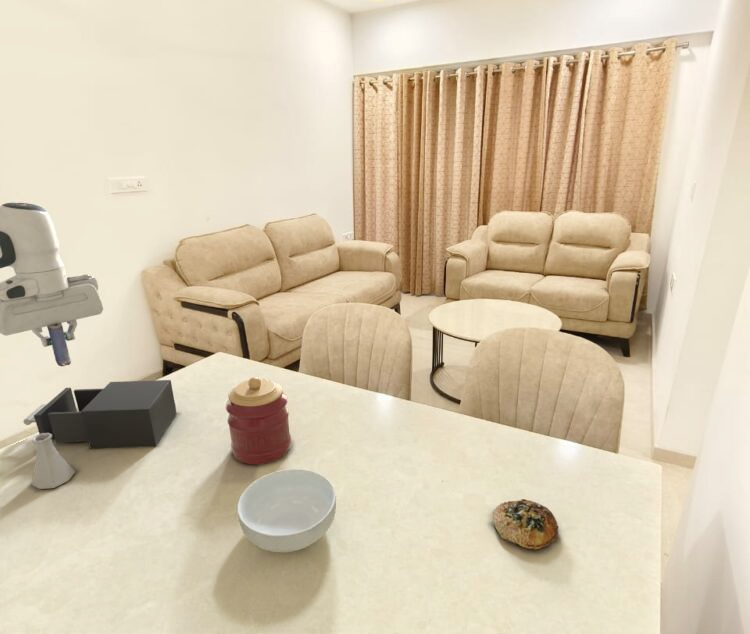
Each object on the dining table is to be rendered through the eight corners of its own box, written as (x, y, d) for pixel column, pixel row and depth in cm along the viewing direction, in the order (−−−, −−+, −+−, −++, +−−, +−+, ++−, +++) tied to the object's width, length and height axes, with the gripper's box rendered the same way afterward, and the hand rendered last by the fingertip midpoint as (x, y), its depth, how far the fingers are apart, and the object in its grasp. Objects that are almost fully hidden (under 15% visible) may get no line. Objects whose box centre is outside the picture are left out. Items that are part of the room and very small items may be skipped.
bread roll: (557, 511, 91) (559, 491, 89) (557, 563, 82) (559, 542, 79) (494, 501, 94) (495, 482, 92) (488, 550, 85) (488, 529, 83)
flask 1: (72, 365, 109) (60, 318, 105) (56, 368, 108) (44, 321, 104) (69, 351, 117) (58, 307, 113) (54, 354, 115) (42, 310, 111)
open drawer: (19, 446, 112) (10, 416, 109) (52, 416, 124) (44, 388, 122) (104, 443, 113) (96, 413, 110) (128, 413, 125) (122, 385, 122)
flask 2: (24, 487, 100) (10, 444, 96) (54, 466, 106) (42, 425, 103) (54, 492, 98) (41, 449, 95) (82, 470, 105) (71, 429, 101)
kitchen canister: (275, 427, 120) (268, 360, 114) (302, 451, 110) (296, 379, 104) (222, 446, 113) (212, 375, 106) (247, 474, 103) (237, 398, 97)
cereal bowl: (237, 510, 93) (232, 479, 90) (324, 491, 98) (322, 460, 95) (246, 581, 78) (241, 545, 75) (349, 553, 83) (347, 519, 80)
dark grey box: (90, 448, 112) (80, 411, 109) (118, 416, 126) (110, 381, 122) (156, 446, 113) (148, 409, 110) (176, 413, 127) (170, 379, 123)
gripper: (89, 270, 115) (102, 327, 120) (-19, 289, 101) (1, 352, 106) (100, 275, 111) (113, 333, 116) (-10, 294, 97) (9, 360, 102)
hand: (58, 342), depth 111 cm, fingers closed on flask 1, 3 cm apart
